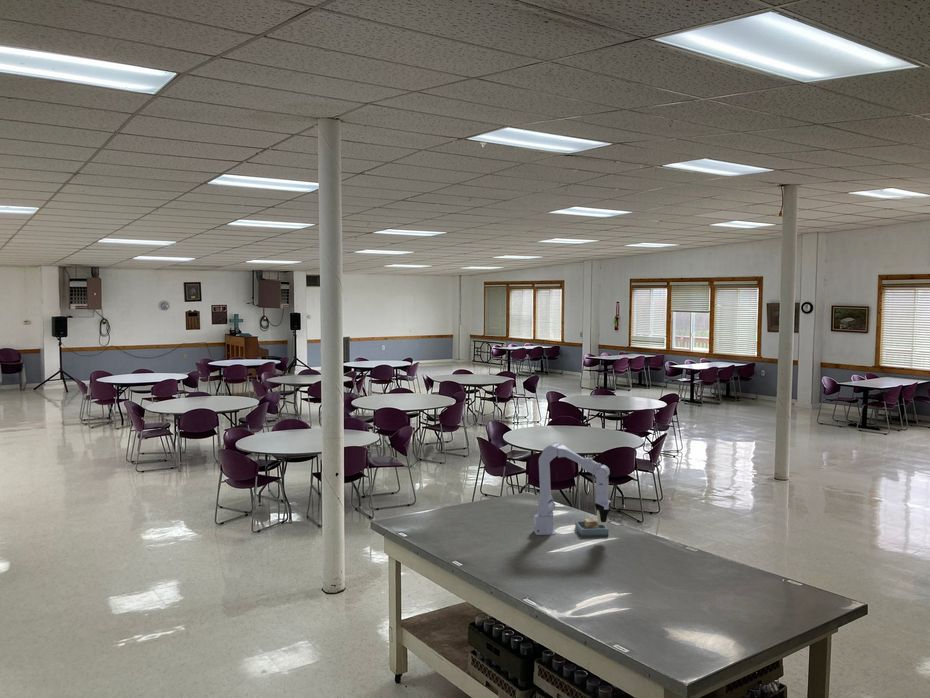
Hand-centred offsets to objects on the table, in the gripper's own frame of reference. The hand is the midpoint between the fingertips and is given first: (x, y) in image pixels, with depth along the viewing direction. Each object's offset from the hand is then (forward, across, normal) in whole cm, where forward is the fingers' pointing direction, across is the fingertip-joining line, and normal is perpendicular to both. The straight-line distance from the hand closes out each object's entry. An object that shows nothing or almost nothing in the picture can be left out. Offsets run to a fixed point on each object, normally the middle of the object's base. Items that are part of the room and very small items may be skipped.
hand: (602, 520), depth 317 cm
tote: (+9, +12, +2) cm, 15 cm away
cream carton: (+2, 0, 0) cm, 2 cm away
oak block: (+8, +12, +2) cm, 15 cm away
